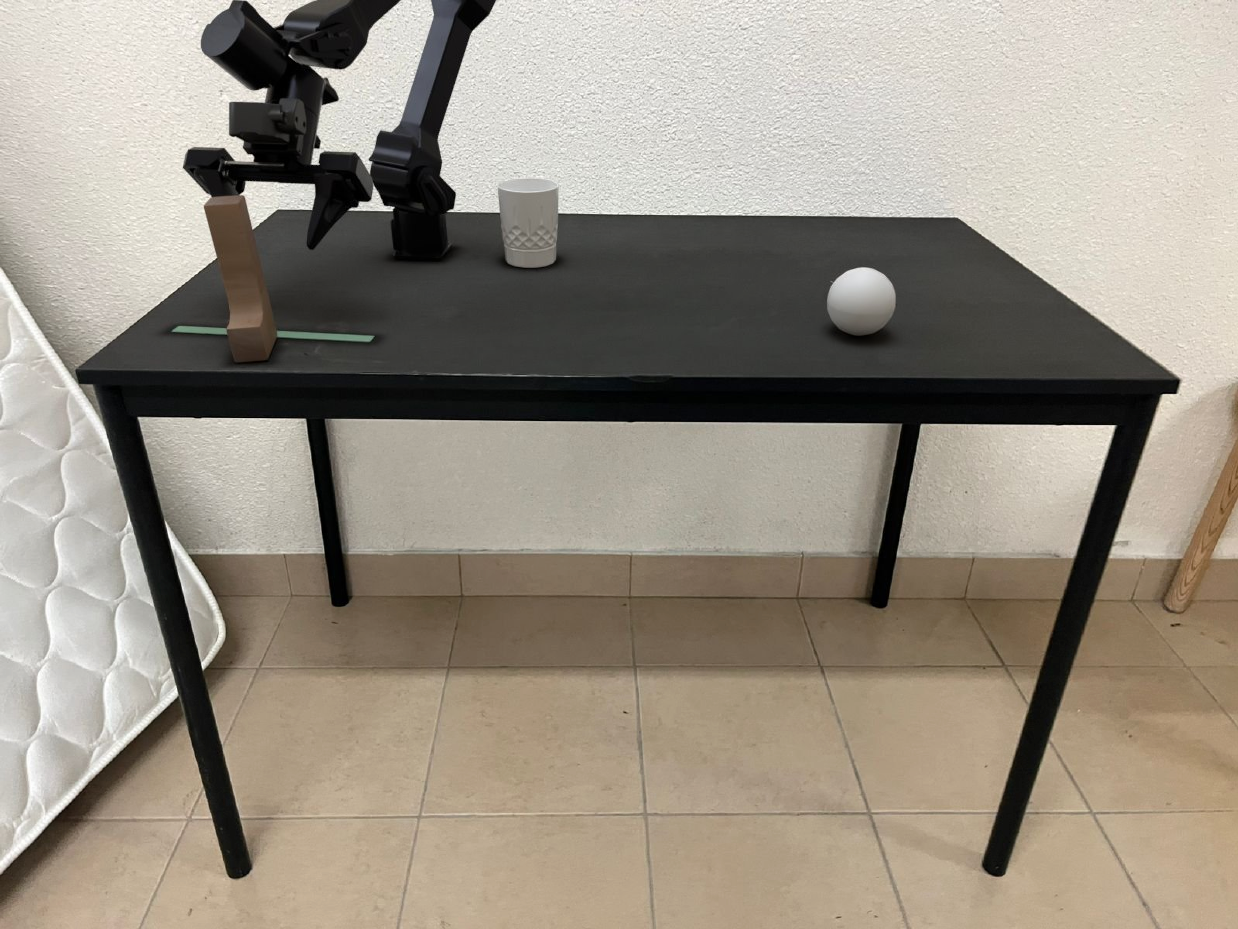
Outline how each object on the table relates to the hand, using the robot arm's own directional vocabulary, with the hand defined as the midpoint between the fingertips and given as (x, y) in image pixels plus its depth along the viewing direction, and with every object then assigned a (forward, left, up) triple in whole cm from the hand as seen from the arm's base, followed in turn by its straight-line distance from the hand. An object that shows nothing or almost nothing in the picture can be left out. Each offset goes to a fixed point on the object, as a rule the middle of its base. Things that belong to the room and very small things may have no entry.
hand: (267, 246), depth 94 cm
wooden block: (0, +6, -9) cm, 11 cm away
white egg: (-63, -8, -9) cm, 64 cm away
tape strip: (0, +2, -9) cm, 9 cm away
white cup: (-23, -27, -9) cm, 36 cm away
